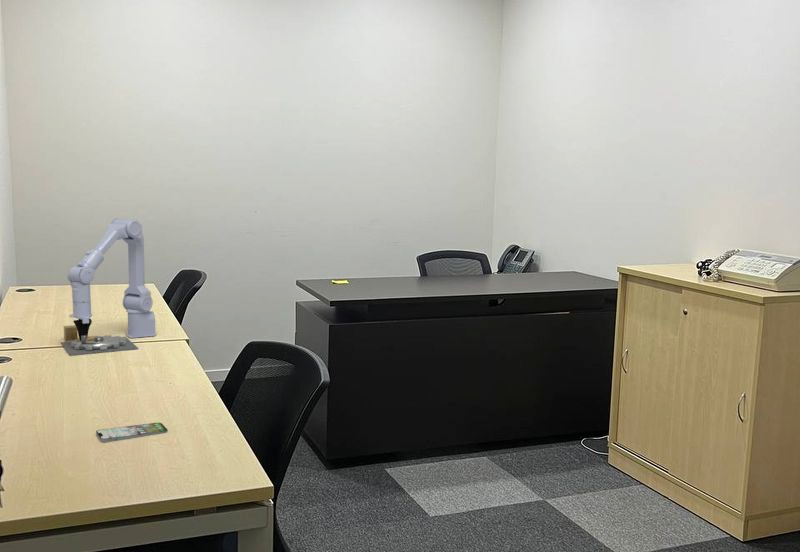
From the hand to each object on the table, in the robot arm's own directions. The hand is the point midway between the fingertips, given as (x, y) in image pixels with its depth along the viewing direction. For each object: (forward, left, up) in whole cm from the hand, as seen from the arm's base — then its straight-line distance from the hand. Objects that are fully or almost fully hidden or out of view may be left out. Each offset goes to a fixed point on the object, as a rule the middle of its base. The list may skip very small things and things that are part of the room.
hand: (83, 340), depth 262 cm
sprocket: (-5, -1, -3) cm, 6 cm away
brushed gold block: (+2, -16, -3) cm, 17 cm away
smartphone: (+4, +96, -4) cm, 96 cm away
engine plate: (-5, -1, -3) cm, 6 cm away
